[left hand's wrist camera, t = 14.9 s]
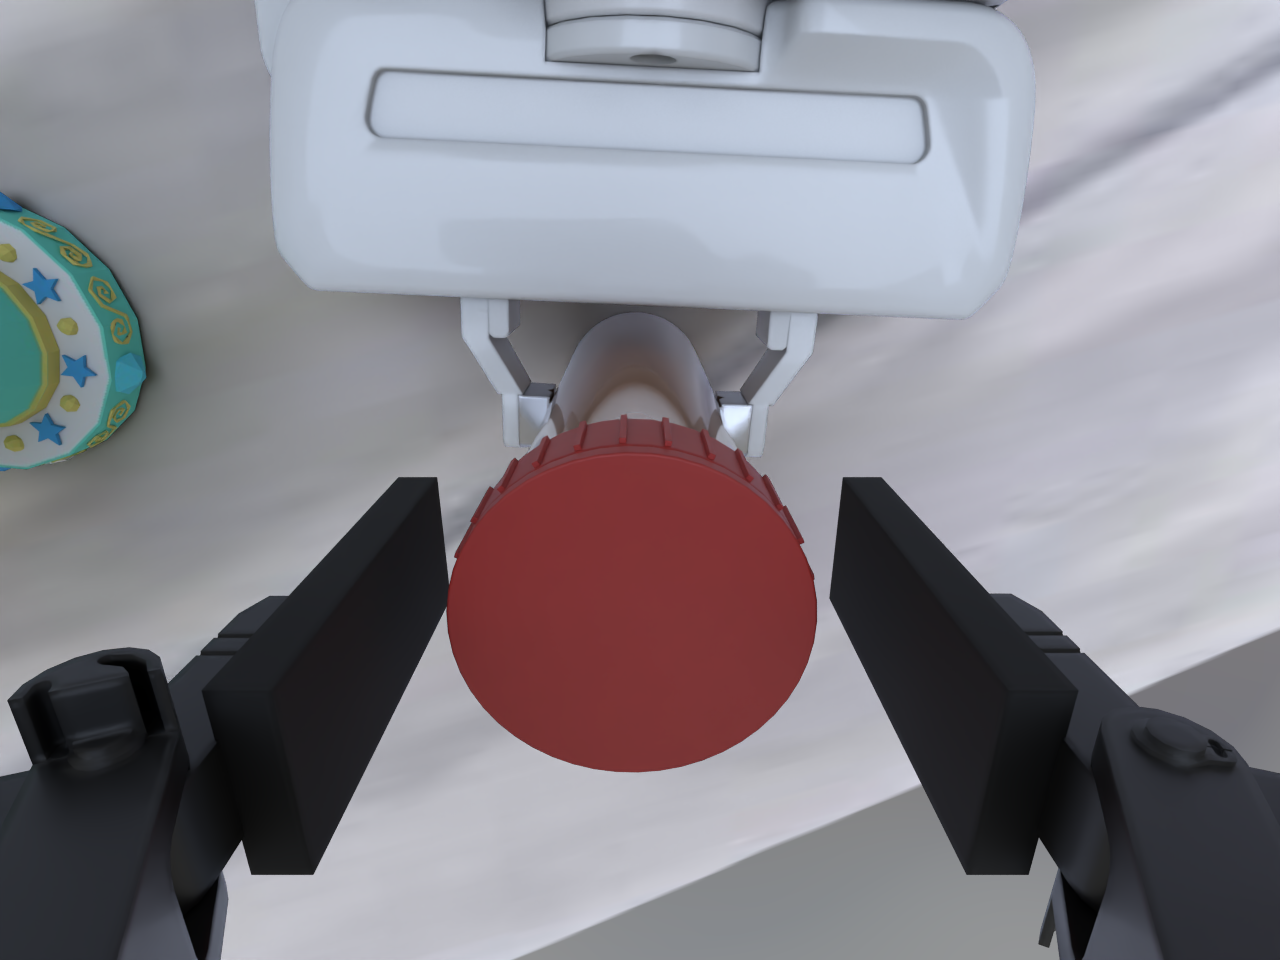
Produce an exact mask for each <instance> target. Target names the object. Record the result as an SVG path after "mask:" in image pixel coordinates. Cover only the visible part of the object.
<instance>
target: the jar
mask: <svg viewBox="0 0 1280 960" xmlns="http://www.w3.org/2000/svg"><path fill="white" fill-rule="evenodd" d="M621 415H627V419H650V420H656V421H662V418H663V417H666V418H669V423H674V424H677V425H680V426H684V427H687V428H691V429H694V430H696V431H698V432H701V430H702V429H705V430H708V432H709V435H710V437H712V438H714V439H716V440H718V441H719V442H721V443H722V444H724V445H726V446H727V447H729V448H731V449H732V450H734V451H735V450H736V449H737V448H738V447H737V445H736V443H735V441H734V438H733V436H732V434H731V431H730V429H729V427H728V424H727V422H726V420H725V418H724V415H723V413H722V411H721V408H720V406H719V404H718V401H717V399H716V397H715V395H714V392H713V390H712V388H711V385H710V383H709V381H708V378H707V376H706V374H705V372H704V369H703V367H702V365H701V362H700V360H699V358H698V355H697V353H696V351H695V349H694V347H693V345H692V343H691V342H690V341H689V339H688V338H687V336H686V335H685V334H684V333H683V332H682V331H681V330H680V329H679V328H678V327H676V326H675V325H674V324H672V323H671V322H669V321H668V320H666V319H663V318H661V317H659V316H656V315H653V314H649V313H643V312H628V313H622V314H617V315H614V316H611V317H609V318H606V319H605V320H603V321H601V322H599V323H598V324H596V325H595V326H594V327H592V328H591V329H590V330H589V331H588V332H587V333H586V334H585V335H584V337H583V338H582V339H581V341H580V342H579V344H578V346H577V347H576V349H575V351H574V354H573V356H572V358H571V360H570V362H569V364H568V366H567V369H566V371H565V373H564V375H563V377H562V379H561V381H560V384H559V386H558V388H557V390H556V392H555V394H554V396H553V399H552V401H551V403H550V405H549V407H548V409H547V411H546V414H545V416H544V418H543V420H542V422H541V424H540V426H539V429H538V431H537V433H536V435H535V437H534V439H533V442H532V444H531V446H530V448H529V450H528V452H527V453H529V452H530V451H532V450H533V449H534V448H536V447H537V446H539V445H540V442H541V440H542V438H543V437H545V436H548V437H549V438H550V439H551V438H553V437H555V436H557V435H559V434H561V433H563V432H566V431H569V430H572V429H574V428H577V427H579V423H580V422H582V421H586V423H587V425H588V424H592V423H597V422H601V421H608V420H618V419H620V418H621Z"/></svg>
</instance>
